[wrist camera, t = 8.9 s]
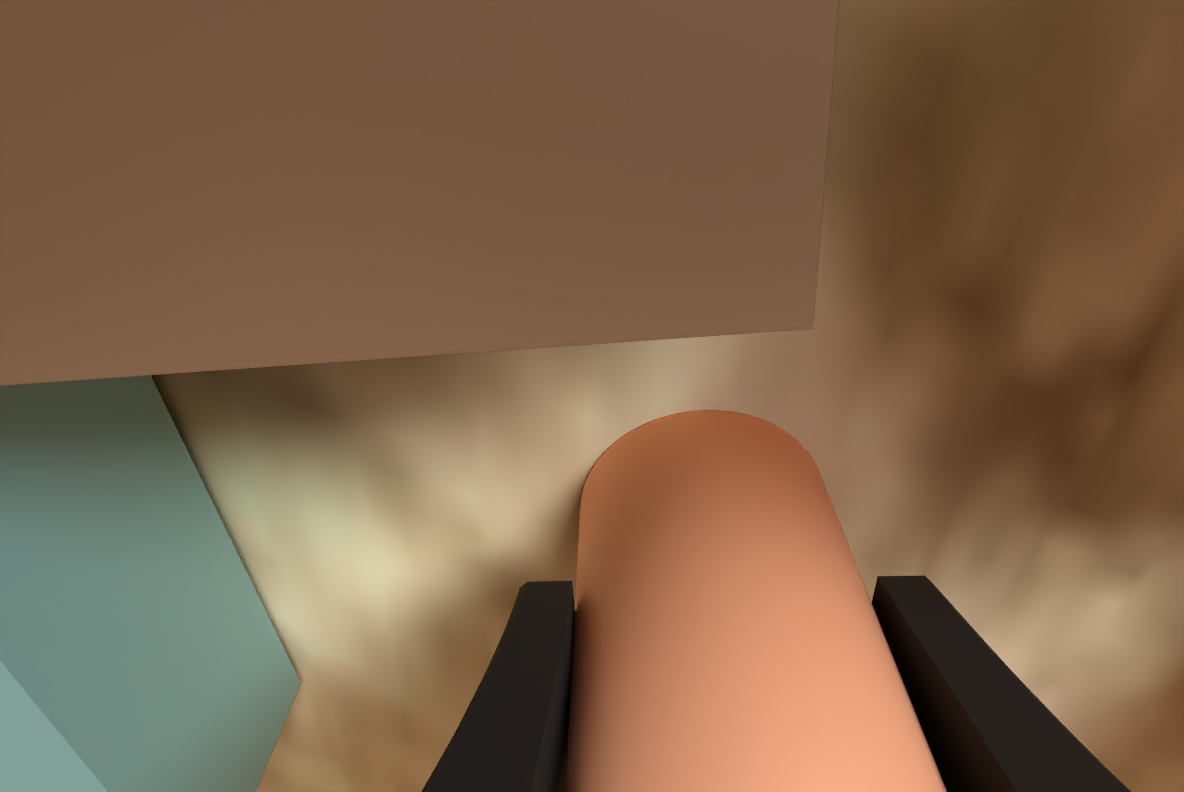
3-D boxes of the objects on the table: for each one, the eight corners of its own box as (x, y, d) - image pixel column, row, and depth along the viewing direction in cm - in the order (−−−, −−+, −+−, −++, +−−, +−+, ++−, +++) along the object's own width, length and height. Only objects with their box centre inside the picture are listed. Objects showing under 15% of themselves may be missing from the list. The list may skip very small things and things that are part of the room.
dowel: (562, 425, 11) (486, 1171, 4) (827, 396, 11) (1198, 1163, 4) (597, 605, 13) (584, 1303, 6) (821, 587, 13) (1059, 1307, 6)
